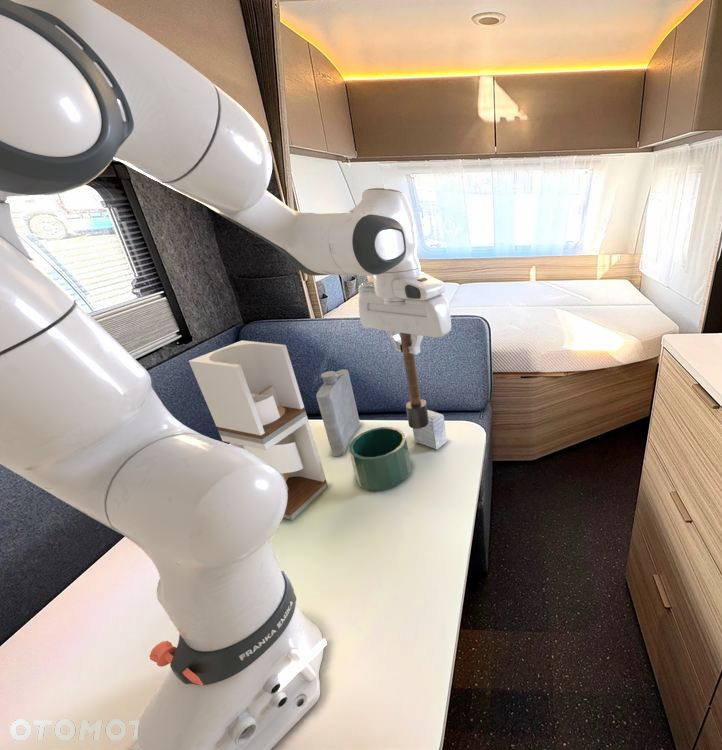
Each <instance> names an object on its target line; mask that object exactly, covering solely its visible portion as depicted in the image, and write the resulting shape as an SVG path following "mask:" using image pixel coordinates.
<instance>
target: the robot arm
mask: <svg viewBox="0 0 722 750" xmlns="http://www.w3.org/2000/svg"><path fill="white" fill-rule="evenodd" d="M266 135H267V134H266V133H265V131H264V129H263V128H262V127H261V125H259V123H258V122H257V121H256V120H255V118H253V116H252V115H251V114H250V113H249V112H248V111H247V110H246V109H245V108H244V107H243V106H242V105H240V104H239V102H238V101H236V100H235V99H234V98H232V96H230V95H229V94H227V93H226V92H225V91H223V90H222V88H220V87H218V86H217V85H216V84H215V83H214V82H212V80H210V79H209V78H208V77H206V76H205V75H204V74H202V72H200V71H199V70H197V68H195V67H194V66H192V65H191V64H190V63H188V62H187V61H185V60H184V59H183V58H181V57H180V56H179V55H177V54H176V53H175V52H173V51H172V50H170V49H169V48H168V47H166V46H165V45H163V44H162V43H160V42H159V41H157V40H156V39H154V38H153V36H152V37H151V35H149V34H147V33H146V32H144V31H143V30H141V29H140V28H138V27H137V26H135V25H134V24H132V23H130V22H129V21H127V20H125V19H124V18H123V17H121V16H119V15H117V14H116V13H114V12H112V11H111V10H109V9H107V8H106V7H104V6H102V5H101V4H100V3H98V2H96V1H94V0H0V465H1V466H3V467H5V468H6V469H8V470H10V471H11V472H13V473H15V474H16V475H18V476H20V477H21V478H23V479H25V480H27V481H29V482H30V483H31V484H33V485H35V486H37V487H38V488H41V489H42V490H44V491H45V492H47V493H49V494H51V495H52V496H54V497H56V498H57V499H59V500H61V501H62V502H64V503H66V504H67V505H69V506H71V507H72V508H74V509H76V510H78V511H79V512H81V513H82V514H85V516H88V517H90V518H91V519H93V520H95V521H97V522H98V523H101V524H102V525H104V526H106V527H107V528H109V529H111V530H113V531H115V532H116V533H118V534H120V535H122V536H124V537H125V538H127V539H128V540H129V541H131V542H132V543H133V544H134V545H136V546H137V547H138V548H139V549H140V550H142V551H143V552H144V553H145V554H146V555H147V557H148V558H149V560H151V562H152V563H153V565H154V566H155V569H156V570H157V573H158V576H159V579H158V582H157V586H156V598H157V601H158V602H159V604H160V605H161V608H163V610H164V611H165V613H166V615H167V616H168V618H169V620H170V621H171V623H172V624H173V626H174V627H175V628H176V630H177V632H178V633H179V636H178V643H177V646H173V644H172V642H170V641H169V640H162V641H160V642H159V643H157V644H156V645H155V646H154V647H153V648H152V649H151V651H150V654H149V659H150V660H151V661H152V662H154V663H156V665H157V667H160V668H162V667H165V666H166V667H167V665H169V667H170V670H169V672H168V674H167V675H166V676H165V678H164V680H163V681H162V683H161V685H160V686H159V687H158V689H157V691H156V693H155V694H154V695H153V697H152V698H151V700H150V702H149V703H148V705H147V706H146V708H145V709H144V710H143V712H142V714H141V716H140V717H139V722H138V725H137V741H136V742H135V743H134V745H133V746H132V747H131V749H130V750H272V749H273V748H274V747H275V746H276V745H277V744H278V743H279V742H280V741H281V740H282V739H283V738H284V737H285V736H286V735H287V734H288V732H289V731H291V729H292V728H294V726H295V725H296V724H297V723H298V722H299V721H300V720H301V719H302V718H303V717H304V716H305V715H306V714H307V713H308V712H309V711H310V710H311V709H313V707H314V706H315V705H316V703H317V702H318V701H319V699H320V696H321V682H320V677H319V676H320V669H321V665H322V662H323V657H324V649H325V647H326V646H327V645H328V643H327V640H326V639H325V638H323V634H322V631H321V630H320V628H319V627H318V626H317V625H316V624H315V623H314V621H313V622H312V621H311V620H310V619H308V617H307V616H306V615H305V614H304V613H303V611H302V610H301V609H300V607H299V605H298V604H297V596H296V593H295V589H294V586H293V584H292V582H291V580H290V579H289V577H288V575H287V574H286V573H285V571H283V570H282V569H281V568H280V567H281V566H280V565H279V563H278V560H277V557H276V554H275V553H274V550H273V547H272V545H271V541H270V540H271V538H272V536H273V535H274V534H276V533H275V532H276V531H277V530H278V529H279V527H280V524H281V523H282V521H283V519H284V518H283V516H284V513H285V510H286V506H287V499H288V492H287V486H286V483H285V481H284V479H283V477H282V476H281V474H280V473H279V472H277V471H276V470H275V469H274V468H272V467H271V466H270V465H269V464H267V463H266V462H265V461H263V460H262V459H260V458H259V457H257V456H256V455H254V454H253V453H251V452H250V451H248V450H245V449H242V448H239V447H236V446H233V445H231V444H230V443H228V442H225V441H222V440H221V441H220V440H217V439H214V438H211V437H210V436H207V435H204V434H201V433H200V432H198V431H196V430H194V429H192V428H190V427H188V426H187V425H185V424H183V423H182V422H181V421H180V420H178V419H177V418H176V417H175V416H174V415H173V414H172V413H171V412H170V411H169V410H168V409H167V407H166V406H165V405H164V404H163V402H162V400H161V399H160V397H159V396H158V394H157V393H156V392H155V390H154V388H153V386H152V377H151V375H150V373H149V371H148V370H147V369H146V368H145V367H144V366H143V365H142V364H141V363H140V362H139V361H137V359H135V357H134V356H133V355H131V353H129V352H128V351H127V349H126V348H125V347H123V345H121V344H120V342H118V340H117V339H116V338H114V337H113V336H112V335H111V334H110V332H108V331H107V330H106V329H105V328H104V327H103V326H102V325H101V324H100V323H99V322H98V321H97V320H96V319H95V318H94V317H93V316H92V315H91V314H90V313H89V312H88V311H87V310H86V309H85V308H84V307H83V306H82V305H81V304H80V303H79V302H78V301H77V300H75V299H74V298H73V296H71V295H70V294H69V293H68V292H67V291H66V290H65V289H64V288H63V287H62V286H61V285H59V284H58V282H56V280H54V279H53V278H52V277H51V276H50V275H49V274H47V273H46V272H45V271H44V270H43V269H42V268H41V267H40V266H38V265H37V264H36V263H35V262H34V261H35V260H34V258H33V257H32V255H31V254H30V253H29V252H28V251H27V249H26V248H25V246H24V245H23V243H22V241H21V239H20V237H19V235H18V233H17V230H16V228H15V224H14V220H13V216H12V210H13V209H12V207H13V206H12V204H11V203H14V202H15V203H16V202H21V201H26V200H31V199H36V198H40V197H44V196H52V195H59V194H64V193H68V192H73V191H75V190H78V189H80V188H82V187H84V186H85V185H87V184H89V183H90V182H91V181H94V180H95V179H96V178H97V177H99V176H100V175H101V174H102V173H103V172H104V171H105V170H106V169H107V168H108V166H110V164H111V163H112V161H113V160H114V161H118V162H120V163H123V164H124V165H125V166H128V167H129V168H131V169H133V170H135V171H137V172H139V173H140V174H142V175H145V176H147V177H148V178H150V179H152V180H154V181H156V182H158V183H160V184H162V185H164V186H166V187H168V188H170V189H172V190H173V191H176V192H178V193H180V194H182V195H184V196H186V197H188V198H189V199H192V200H194V201H196V202H199V203H200V204H202V205H204V206H206V207H208V209H210V210H212V211H213V212H215V213H217V214H218V215H220V216H221V217H223V218H225V219H227V220H228V221H229V222H231V223H233V224H235V225H236V226H238V227H240V228H242V229H243V230H245V231H246V232H248V233H250V234H252V235H254V236H256V237H257V238H259V239H261V240H263V241H265V242H266V243H268V244H269V245H271V246H272V247H274V248H275V249H277V250H278V251H279V252H280V253H281V254H282V255H283V256H284V257H285V258H286V259H287V260H288V261H289V263H290V264H291V265H292V266H293V267H295V268H296V269H297V270H298V271H300V272H301V273H303V274H304V275H307V276H315V277H316V276H331V275H332V276H333V275H334V276H362V277H363V276H365V277H371V276H372V282H370V281H362V283H360V285H359V286H358V288H357V292H358V312H359V313H358V315H359V320H360V321H359V322H360V323H361V325H362V326H363V328H364V329H365V328H366V329H372V330H379V331H386V332H387V337H389V339H390V341H391V342H392V344H394V350H395V352H397V353H398V352H399V353H403V350H402V344H401V337H400V333H406V334H411V339H412V342H413V344H412V345H410V346H408V347H409V350H410V351H409V353H410V354H414V356H416V355H419V354H421V343H422V341H423V339H424V337H428V338H436V339H441V338H443V337H445V336H447V335H449V333H450V332H451V330H452V318H451V317H452V316H451V311H450V306H449V302H448V300H447V298H446V296H444V295H443V294H444V293H445V292H446V285H445V282H444V281H442V280H440V279H438V278H436V277H434V276H431V275H429V274H427V273H425V272H423V271H421V265H420V262H419V258H418V256H417V246H418V240H417V233H416V232H417V231H416V225H415V221H414V216H413V211H412V207H411V204H410V201H409V198H408V196H407V195H406V194H405V193H403V192H401V191H399V190H398V189H397V190H396V189H393V188H383V187H375V188H373V187H372V188H367V189H365V190H364V191H362V194H361V200H360V202H359V203H357V205H356V206H354V207H353V208H352V209H350V210H348V212H336V213H335V212H331V213H314V212H302V211H297V210H295V209H293V208H291V207H289V205H287V204H286V203H284V202H283V201H281V200H280V199H279V198H277V196H276V195H274V194H272V193H271V192H270V191H268V187H269V184H270V180H271V177H272V171H273V157H272V151H271V145H270V143H269V140H268V138H267V136H266ZM300 704H301V705H300Z"/></svg>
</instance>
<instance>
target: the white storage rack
mask: <svg viewBox="0 0 722 750" xmlns="http://www.w3.org/2000/svg"><path fill="white" fill-rule="evenodd" d="M188 363H189V365H190V367H191V370H192V373H193V374H194V377H195V380H196V382H197V384H198V386H199V390H200V391H201V394H202V396H203V398H204V401H205V403H206V406H207V408H208V410H209V412H210V415H211V417H212V419H213V422H214V424H215V428H216V429H217V432H218V434H219V436H220V438H221V442H224V443H229V444H230V445H233V446H236V447H239V448H242V449H245V450H248V451H250V452H251V453H253V454H254V455H256V456H257V457H259V458H260V459H262V460H263V461H265V462H266V463H267V464H269V465H270V466H271V467H272V468H274V469H275V470H276V471H277V472H279V473H280V474H281V476H282V477H283V479H284V481H285V483H286V486H287V492H288V499H287V506H286V510H285V513H284V516H283V519H286V520H289V521H293V520H294V519H295V518H297V516H298V515H299V514H301V513H302V511H304V509H306V508H307V507H308V506H309V505H310V504H311V503H312V502H313V501H314V500H315V499H316V498H318V496H320V494H322V493H323V492H324V491H325V490H326V489H327V488H328V482H327V479H326V475H325V471H324V469H323V465H322V462H321V458H320V455H319V452H318V448H317V445H316V441H315V439H314V434H313V431H312V428H311V425H310V421H309V418H308V415H307V411H306V408H305V405H304V402H303V398H302V395H301V392H300V388H299V384H298V381H297V379H296V378H297V377H296V375H295V370H294V368H293V365H292V361H291V358H290V355H289V351H288V348H287V344H280V343H270V342H262V341H261V342H260V341H251V340H240V341H239V340H238V341H237V342H234V343H232V344H228V345H226V346H224V347H221V348H218V349H215V350H213V351H211V352H208V353H206V354H203V355H200V356H197V357H195V358H192V359H190V360H188Z"/></svg>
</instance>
